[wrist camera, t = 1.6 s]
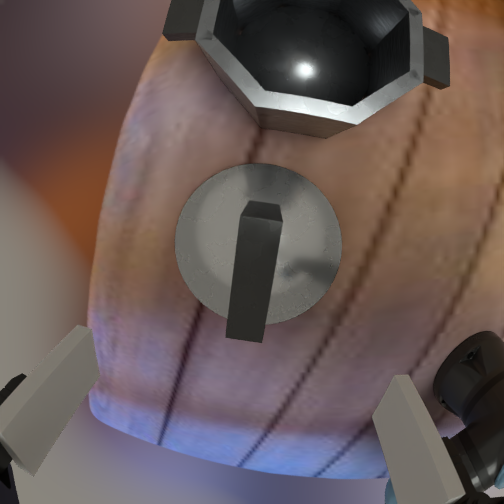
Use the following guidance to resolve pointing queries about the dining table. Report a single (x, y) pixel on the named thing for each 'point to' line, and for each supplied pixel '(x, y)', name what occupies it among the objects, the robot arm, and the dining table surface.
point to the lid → (257, 246)
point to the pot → (313, 56)
